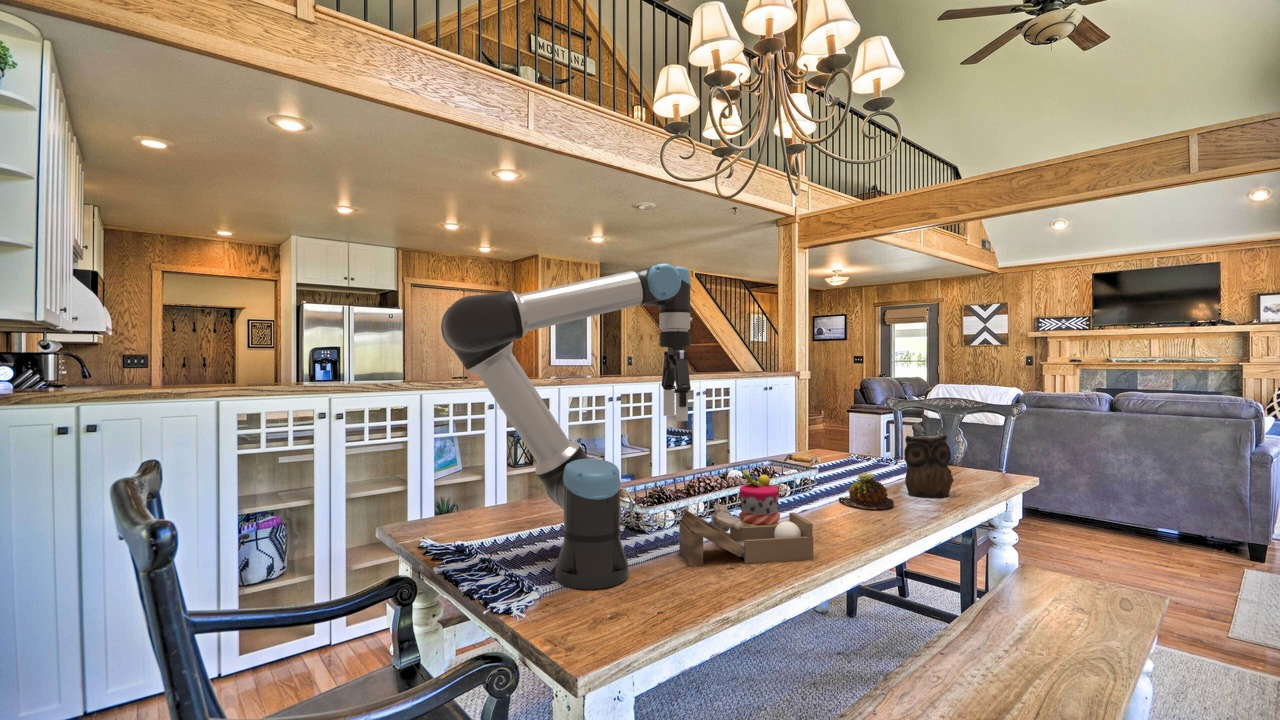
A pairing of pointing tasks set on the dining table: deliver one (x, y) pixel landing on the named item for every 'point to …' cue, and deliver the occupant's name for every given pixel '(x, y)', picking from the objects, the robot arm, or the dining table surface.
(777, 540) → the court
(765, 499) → the cake
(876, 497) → the cactus
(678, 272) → the robot arm
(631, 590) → the dining table surface
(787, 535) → the ball
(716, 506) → the rock
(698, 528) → the ramp
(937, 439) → the dark brown owl statuette
